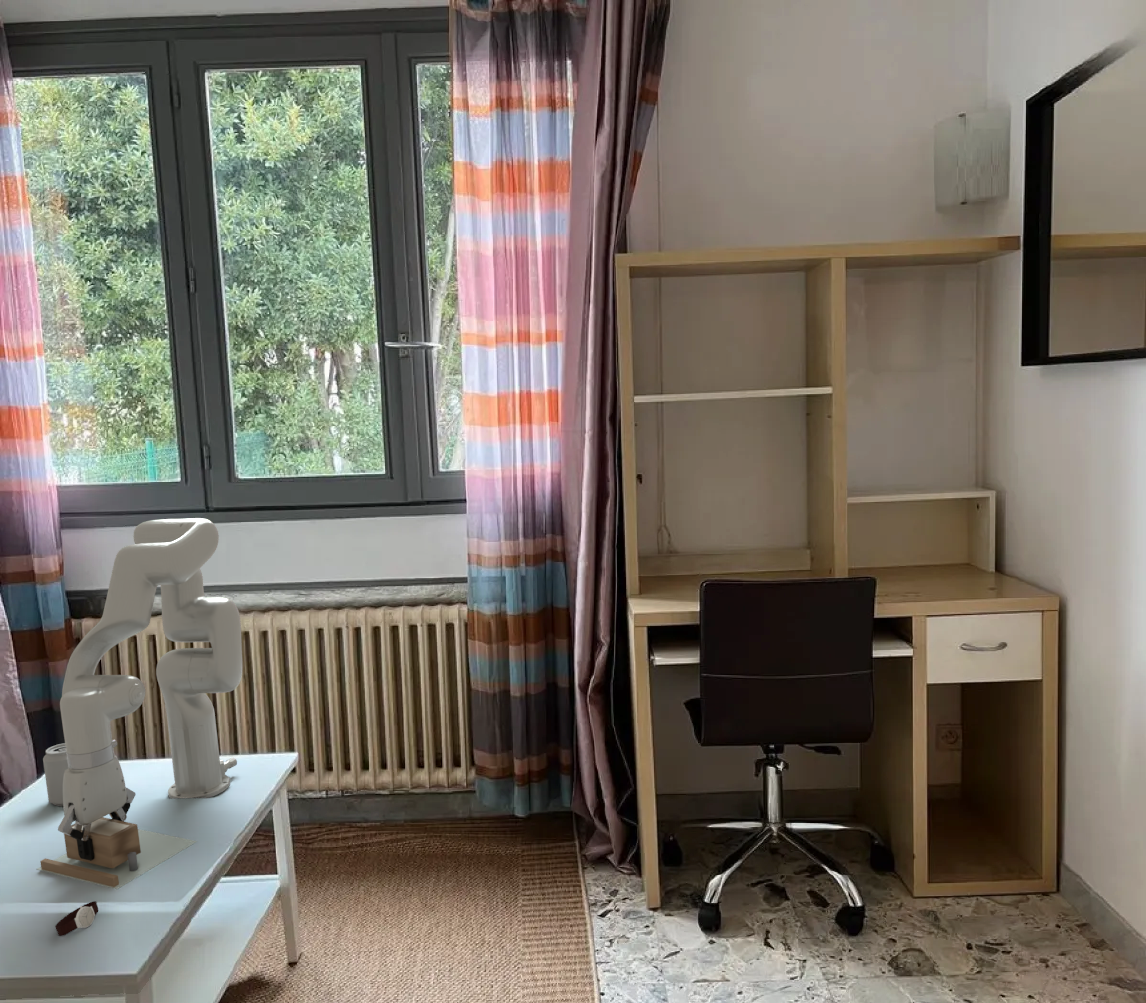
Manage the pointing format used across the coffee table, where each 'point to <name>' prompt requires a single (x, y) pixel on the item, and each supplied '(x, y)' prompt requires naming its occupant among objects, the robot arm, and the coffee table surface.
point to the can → (55, 772)
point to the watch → (77, 919)
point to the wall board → (151, 855)
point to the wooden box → (107, 842)
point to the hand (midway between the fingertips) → (103, 849)
